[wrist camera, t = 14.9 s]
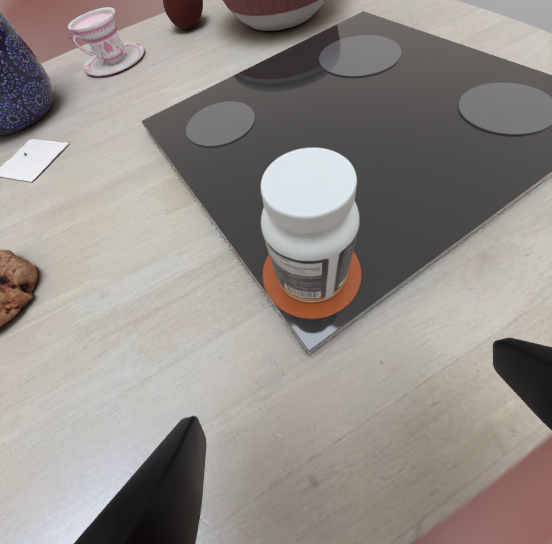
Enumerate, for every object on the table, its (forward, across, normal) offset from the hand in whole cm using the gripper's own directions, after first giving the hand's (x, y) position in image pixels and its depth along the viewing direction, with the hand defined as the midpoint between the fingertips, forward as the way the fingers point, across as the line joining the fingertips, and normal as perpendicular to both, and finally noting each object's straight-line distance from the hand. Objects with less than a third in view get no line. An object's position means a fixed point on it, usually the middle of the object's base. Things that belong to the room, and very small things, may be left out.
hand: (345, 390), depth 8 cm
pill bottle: (+14, -1, +1) cm, 14 cm away
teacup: (+54, +22, -37) cm, 69 cm away
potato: (+60, +6, -42) cm, 73 cm away
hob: (+28, -11, -12) cm, 33 cm away
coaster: (+36, +32, -19) cm, 52 cm away
